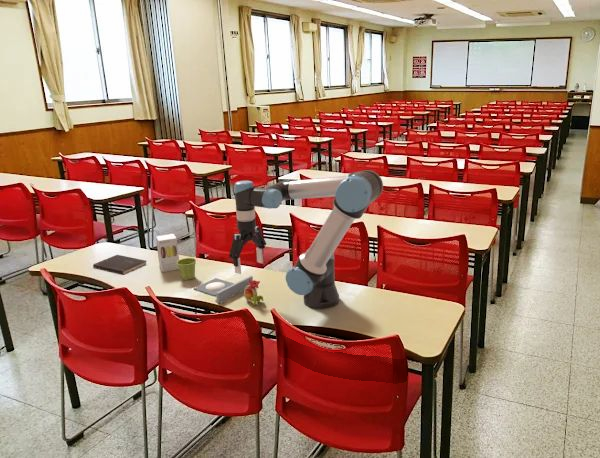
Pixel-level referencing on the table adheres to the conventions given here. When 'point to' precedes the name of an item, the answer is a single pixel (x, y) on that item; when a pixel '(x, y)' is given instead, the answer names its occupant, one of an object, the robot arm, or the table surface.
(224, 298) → the long grey bar
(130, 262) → the hardcover book
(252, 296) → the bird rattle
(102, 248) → the table surface
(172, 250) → the supplement box
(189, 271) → the plant pot
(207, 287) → the mat
